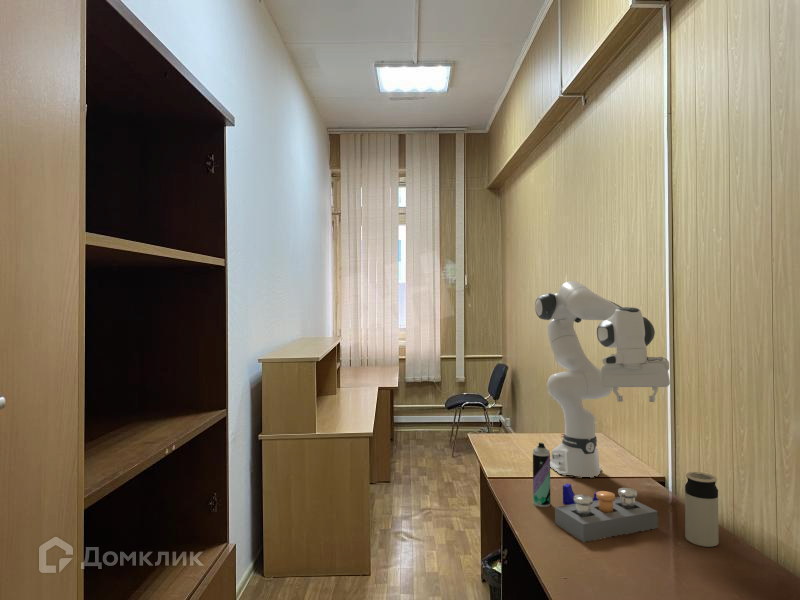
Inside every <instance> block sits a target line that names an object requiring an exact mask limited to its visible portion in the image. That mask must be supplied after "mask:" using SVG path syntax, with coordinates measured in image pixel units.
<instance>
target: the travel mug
mask: <svg viewBox="0 0 800 600" xmlns="http://www.w3.org/2000/svg"><path fill="white" fill-rule="evenodd" d="M685 476H686V479H687V482H686V483H685V484H684V509H685V510H684V512H685V513H684V516H685V520H684V523H685V525H684V527H685V529H684V531H685V537H684V538H685V539H686V540H687V541H688V542H689V543H691V544H693V545H695V546H699V547H704V548H706V547H707V548H710V547H716V546H718V545H719V489H718V487H717V486H716V484H717V483H716V482H717V480H718V478H717V476H715V475H713V474H710V473H706V472H701V471H689V472H687V473H686V474H685Z"/></svg>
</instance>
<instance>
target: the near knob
mask: <svg viewBox="0 0 800 600" xmlns="http://www.w3.org/2000/svg"><path fill="white" fill-rule="evenodd" d="M574 502H575V503H576V514H577V515H578V516H580V517H587V516H590V505H591V504H592V503H593V497H592V496H590V495H586V494H575V496H574Z"/></svg>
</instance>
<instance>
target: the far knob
mask: <svg viewBox="0 0 800 600" xmlns="http://www.w3.org/2000/svg"><path fill="white" fill-rule="evenodd" d="M617 494H618V496H619V497H620V504H621V507H623V508H625V509H627V510H628V509H634V508H635V501H636V498H637V497H638V491H637V490H636V489H633V488H630V487H619V488H618V489H617Z"/></svg>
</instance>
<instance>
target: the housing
mask: <svg viewBox="0 0 800 600" xmlns="http://www.w3.org/2000/svg"><path fill="white" fill-rule="evenodd" d="M658 512H659V511H658V510H656V509H654V508H652V507H650V506H648V505H646V504H644V503H642V502H639V501H637V500H635V508H634V509H628V510H627V509H625V508H623V507H621V504H620V496H617V497H616V496H615V501H613V512H611V513H603V512H601V511H599V500H596V501H593V503H592V504H591V505H590V516H587V517H580V516H578V515H577V514H576V504H571V505H566V504H564V505H561V506H555V507H554V517H555V518H554V524H555V525H556V526H557V527H560V528H561V529H562V530H564V531H566V532H567V533H568V534H571V536H573V537H575V539H578V540H579V541H581V542H582V543H587V542H586V541H588V542H592V541H591V540H593V541H596V540H595V539H599V540H601V539H600V538H604V537H609V538H612V537H611V536H615V537H617V536H616V535H620V536H622V535H621V534H625V535H628V534H627V533H631V534H634V533H633V532H636V533H639V532H638V531H641V532H644V531H643V530H647V531H650V529H652V530H657V529H658V528H659V519H658V517H659V514H658ZM656 528H657V529H656ZM604 539H605V538H604Z"/></svg>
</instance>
